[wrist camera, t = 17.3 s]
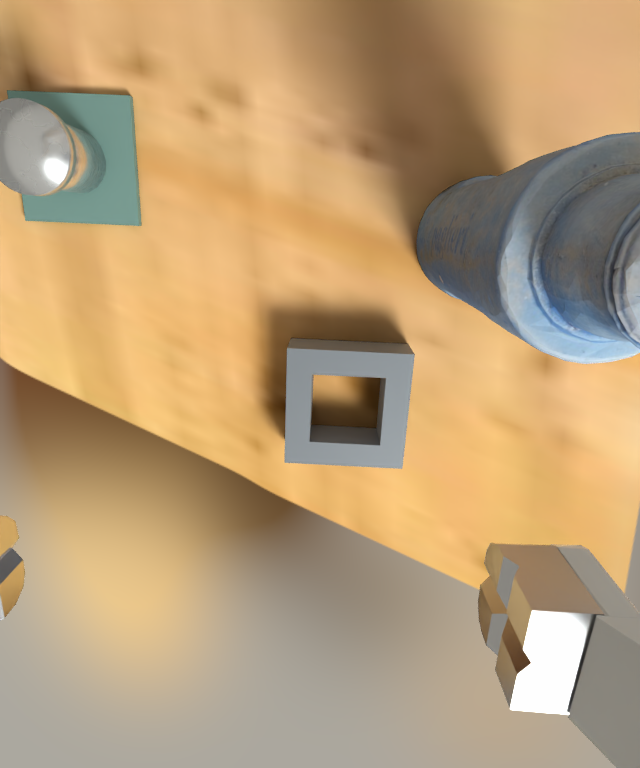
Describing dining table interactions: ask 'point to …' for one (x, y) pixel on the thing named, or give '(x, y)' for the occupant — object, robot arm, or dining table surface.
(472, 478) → the dining table surface
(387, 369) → the housing
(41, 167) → the end cover
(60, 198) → the mat
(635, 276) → the bottle
